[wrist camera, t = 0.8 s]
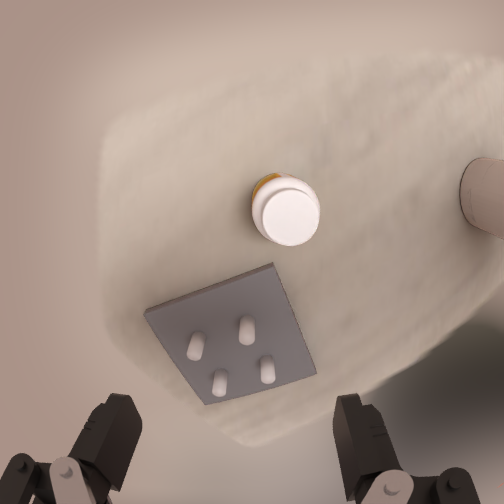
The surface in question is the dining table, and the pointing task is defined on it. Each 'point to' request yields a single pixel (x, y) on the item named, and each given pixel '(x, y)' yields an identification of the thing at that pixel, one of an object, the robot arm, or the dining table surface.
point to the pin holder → (234, 337)
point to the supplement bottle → (285, 209)
